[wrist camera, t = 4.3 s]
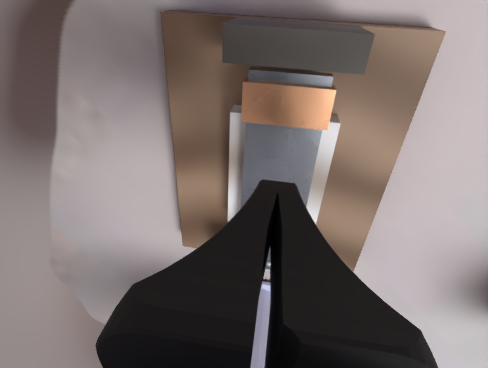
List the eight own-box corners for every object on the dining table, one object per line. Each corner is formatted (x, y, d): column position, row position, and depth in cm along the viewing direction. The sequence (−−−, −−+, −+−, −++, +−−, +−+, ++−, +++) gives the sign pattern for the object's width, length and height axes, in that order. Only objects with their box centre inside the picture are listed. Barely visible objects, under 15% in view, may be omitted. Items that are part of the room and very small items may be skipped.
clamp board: (350, 257, 25) (361, 310, 20) (188, 233, 26) (167, 280, 22) (433, 28, 15) (485, 42, 11) (170, 10, 16) (128, 17, 12)
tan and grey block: (295, 264, 22) (295, 279, 21) (236, 255, 22) (233, 269, 21) (335, 72, 15) (338, 79, 13) (247, 65, 15) (243, 70, 14)
